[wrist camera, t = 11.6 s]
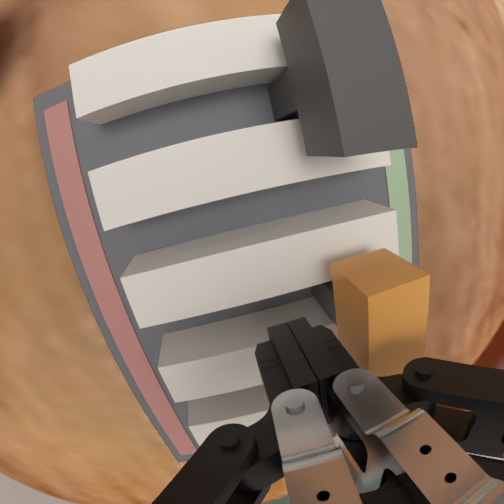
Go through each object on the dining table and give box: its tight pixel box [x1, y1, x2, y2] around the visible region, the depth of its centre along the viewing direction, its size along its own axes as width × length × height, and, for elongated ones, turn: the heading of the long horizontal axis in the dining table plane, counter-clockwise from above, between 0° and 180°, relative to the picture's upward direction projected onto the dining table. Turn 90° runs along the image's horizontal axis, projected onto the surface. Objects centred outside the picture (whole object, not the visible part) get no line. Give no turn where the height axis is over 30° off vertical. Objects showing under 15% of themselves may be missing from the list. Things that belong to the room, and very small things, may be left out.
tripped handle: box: [311, 248, 430, 377], centre depth 13 cm, size 2×5×7 cm, turn 12°
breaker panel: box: [33, 0, 419, 494], centre depth 14 cm, size 19×26×10 cm
